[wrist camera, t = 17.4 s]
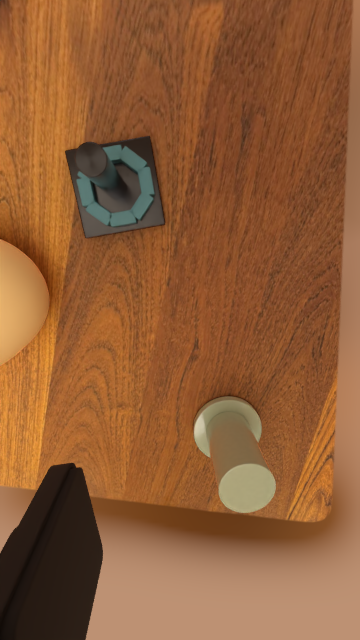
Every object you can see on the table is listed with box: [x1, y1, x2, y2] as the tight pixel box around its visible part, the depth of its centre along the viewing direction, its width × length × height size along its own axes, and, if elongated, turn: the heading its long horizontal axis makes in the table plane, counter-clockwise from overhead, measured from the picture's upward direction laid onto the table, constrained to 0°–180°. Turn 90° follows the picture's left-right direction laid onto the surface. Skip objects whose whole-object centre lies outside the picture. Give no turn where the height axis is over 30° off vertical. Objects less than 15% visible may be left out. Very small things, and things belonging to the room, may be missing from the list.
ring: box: [77, 145, 155, 227], centre depth 30 cm, size 7×7×1 cm
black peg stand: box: [65, 136, 165, 238], centre depth 26 cm, size 8×8×12 cm
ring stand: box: [193, 396, 276, 513], centre depth 33 cm, size 8×8×10 cm
